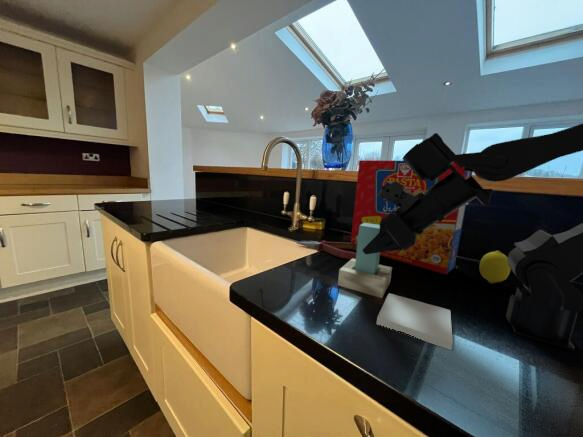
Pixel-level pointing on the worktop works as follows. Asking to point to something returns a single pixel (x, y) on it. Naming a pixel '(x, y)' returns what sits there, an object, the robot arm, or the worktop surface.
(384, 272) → the socket block
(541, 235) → the robot arm
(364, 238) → the post
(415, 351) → the worktop surface
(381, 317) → the pad
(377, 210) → the pasta box
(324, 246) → the pliers
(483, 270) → the lemon
